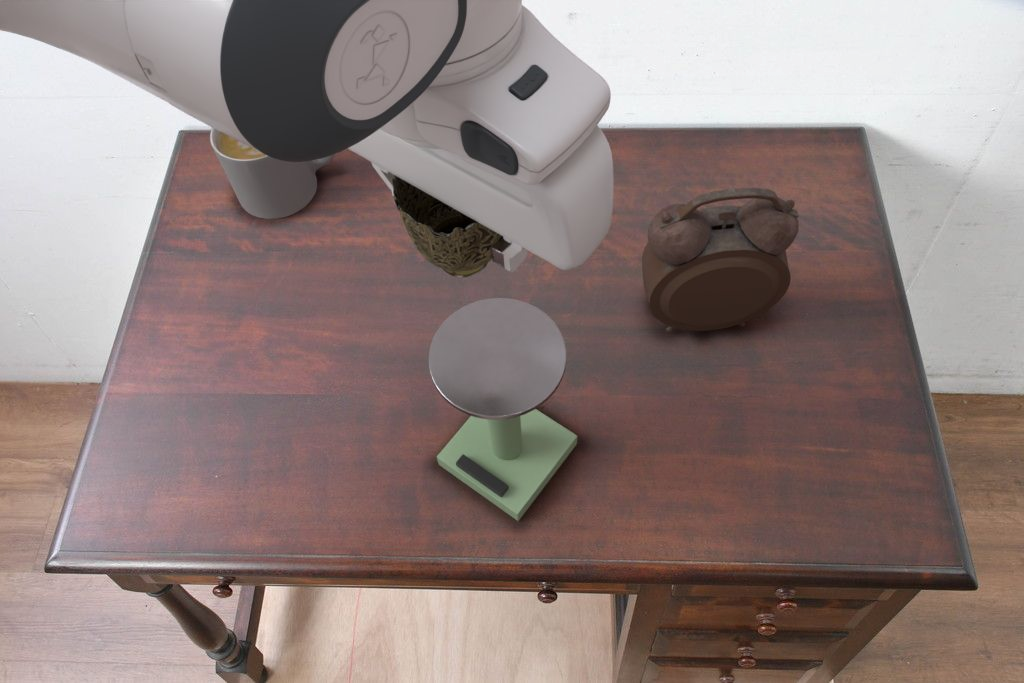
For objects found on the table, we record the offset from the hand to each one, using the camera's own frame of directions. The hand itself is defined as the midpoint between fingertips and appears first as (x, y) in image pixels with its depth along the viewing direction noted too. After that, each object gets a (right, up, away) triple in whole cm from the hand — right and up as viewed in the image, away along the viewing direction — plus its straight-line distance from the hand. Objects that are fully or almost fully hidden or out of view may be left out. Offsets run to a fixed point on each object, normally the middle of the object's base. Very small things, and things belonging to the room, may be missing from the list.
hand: (460, 232), depth 52 cm
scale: (+3, -19, +29) cm, 34 cm away
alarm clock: (+24, -4, +37) cm, 44 cm away
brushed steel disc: (+2, -9, +13) cm, 16 cm away
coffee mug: (-24, +12, +49) cm, 56 cm away
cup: (0, -2, +3) cm, 3 cm away
